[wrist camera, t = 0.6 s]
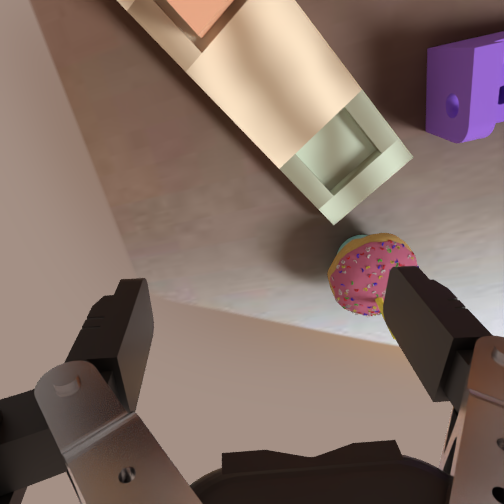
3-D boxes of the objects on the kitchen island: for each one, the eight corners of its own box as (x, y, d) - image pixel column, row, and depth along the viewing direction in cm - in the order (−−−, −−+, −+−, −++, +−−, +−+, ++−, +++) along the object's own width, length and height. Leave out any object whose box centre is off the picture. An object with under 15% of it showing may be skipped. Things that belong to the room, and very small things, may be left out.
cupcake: (386, 287, 43) (442, 365, 32) (312, 287, 42) (345, 367, 31) (404, 217, 39) (475, 279, 28) (323, 215, 38) (365, 279, 27)
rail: (190, -126, 25) (187, -142, 23) (401, 150, 35) (413, 157, 33) (108, -13, 28) (98, -18, 26) (327, 215, 38) (333, 225, 36)
